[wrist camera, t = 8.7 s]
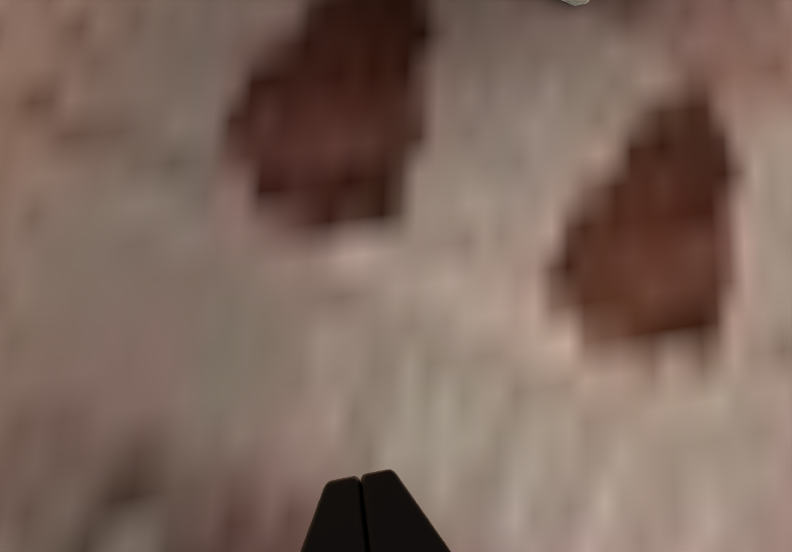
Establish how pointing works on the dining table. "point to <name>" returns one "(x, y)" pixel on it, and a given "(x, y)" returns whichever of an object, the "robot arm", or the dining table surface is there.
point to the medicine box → (576, 2)
